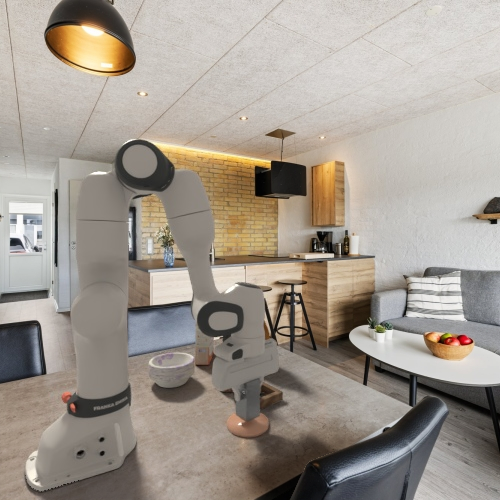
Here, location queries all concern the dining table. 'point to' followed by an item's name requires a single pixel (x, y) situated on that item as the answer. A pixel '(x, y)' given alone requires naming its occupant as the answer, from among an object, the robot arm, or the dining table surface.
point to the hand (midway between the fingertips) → (247, 396)
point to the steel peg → (249, 401)
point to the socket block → (269, 395)
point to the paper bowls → (171, 369)
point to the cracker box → (203, 348)
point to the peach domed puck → (247, 426)
